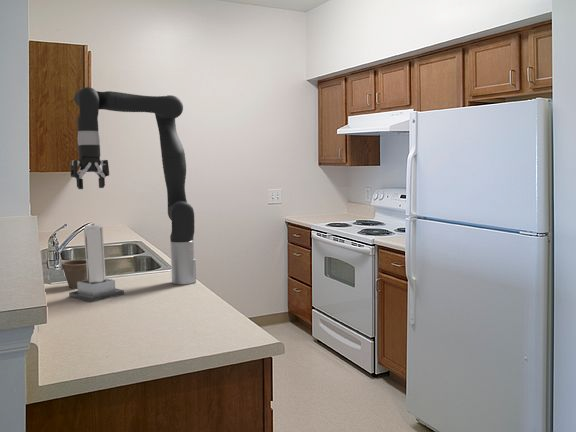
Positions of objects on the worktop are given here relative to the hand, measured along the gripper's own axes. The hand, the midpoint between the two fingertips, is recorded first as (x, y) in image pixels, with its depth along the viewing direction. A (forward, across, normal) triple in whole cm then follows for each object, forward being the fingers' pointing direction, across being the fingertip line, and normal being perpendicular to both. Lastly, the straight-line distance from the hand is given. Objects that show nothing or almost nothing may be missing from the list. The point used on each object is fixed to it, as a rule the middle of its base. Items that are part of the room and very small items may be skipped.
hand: (91, 188), depth 197 cm
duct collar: (+40, 0, 0) cm, 40 cm away
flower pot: (+40, -4, -19) cm, 45 cm away
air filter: (+39, 0, 0) cm, 39 cm away
